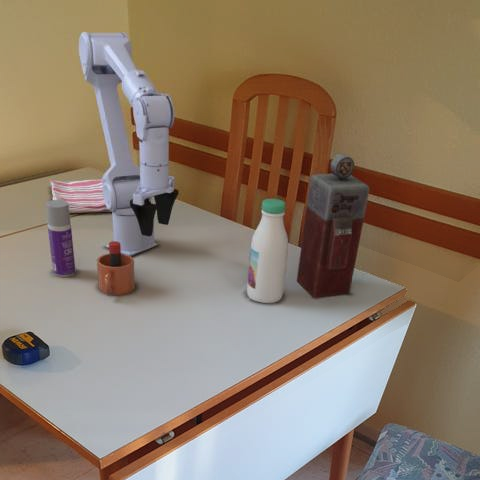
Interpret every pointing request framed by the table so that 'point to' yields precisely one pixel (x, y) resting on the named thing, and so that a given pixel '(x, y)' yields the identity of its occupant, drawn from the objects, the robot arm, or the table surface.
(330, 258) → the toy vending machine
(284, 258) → the milk bottle
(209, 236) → the table surface
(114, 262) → the marker
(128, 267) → the orange coffee mug
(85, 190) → the dish towel
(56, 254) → the container
